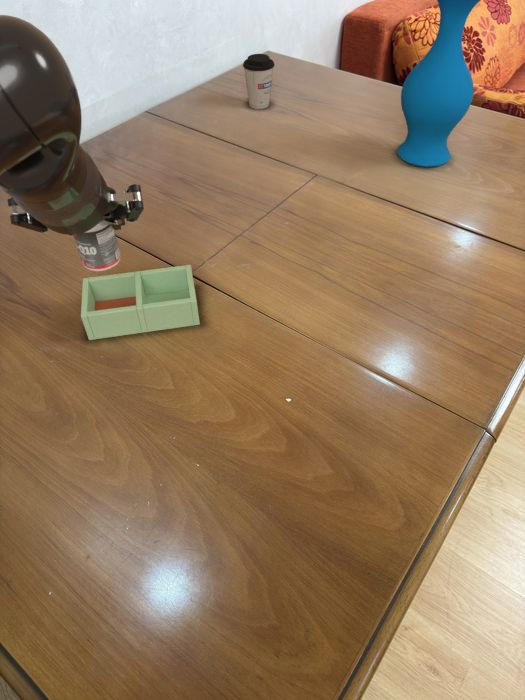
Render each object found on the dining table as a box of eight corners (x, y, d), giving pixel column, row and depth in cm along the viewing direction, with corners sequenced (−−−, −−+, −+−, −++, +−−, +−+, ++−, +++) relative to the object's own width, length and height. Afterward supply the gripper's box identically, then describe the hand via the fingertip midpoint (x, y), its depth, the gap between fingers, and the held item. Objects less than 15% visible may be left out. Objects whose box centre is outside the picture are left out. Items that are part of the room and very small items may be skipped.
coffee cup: (237, 104, 123) (235, 57, 116) (260, 95, 126) (259, 49, 119) (258, 113, 120) (257, 66, 112) (280, 104, 123) (281, 57, 115)
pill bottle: (74, 263, 66) (54, 204, 60) (102, 245, 69) (86, 186, 63) (101, 277, 64) (83, 217, 58) (129, 257, 67) (114, 198, 61)
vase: (445, 178, 100) (490, 4, 79) (381, 162, 104) (408, -6, 84) (463, 150, 107) (508, -15, 86) (402, 137, 111) (432, -24, 91)
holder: (89, 340, 72) (80, 316, 69) (90, 301, 77) (82, 278, 74) (199, 324, 74) (196, 300, 71) (193, 288, 79) (190, 264, 76)
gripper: (132, 134, 49) (149, 186, 66) (-32, 150, 47) (28, 200, 64) (144, 216, 49) (158, 247, 66) (-18, 235, 47) (38, 262, 64)
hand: (94, 224), depth 65 cm, fingers closed on pill bottle, 4 cm apart
